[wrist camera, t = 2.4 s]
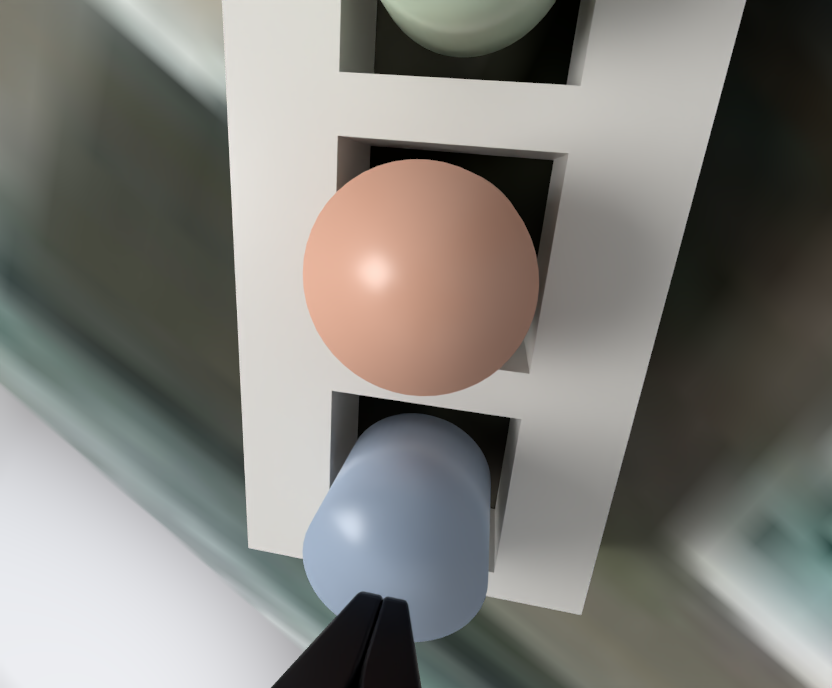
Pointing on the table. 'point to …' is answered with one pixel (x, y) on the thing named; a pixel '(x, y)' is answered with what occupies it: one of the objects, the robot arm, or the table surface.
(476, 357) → the terracotta button
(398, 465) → the slate button
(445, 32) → the sage button
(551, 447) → the panel
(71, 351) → the table surface
